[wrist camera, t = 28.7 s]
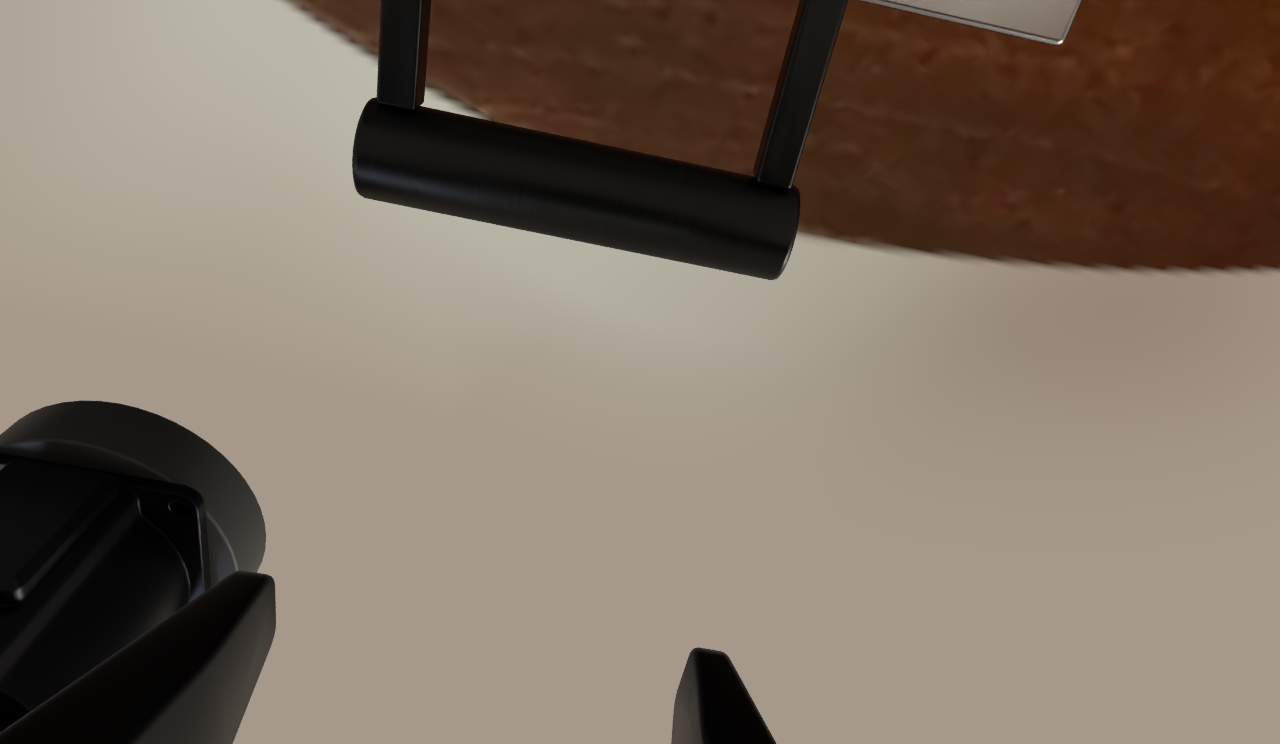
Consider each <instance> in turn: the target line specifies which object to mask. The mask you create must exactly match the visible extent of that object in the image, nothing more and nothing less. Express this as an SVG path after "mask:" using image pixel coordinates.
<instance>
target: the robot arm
mask: <svg viewBox="0 0 1280 744" xmlns="http://www.w3.org/2000/svg"><path fill="white" fill-rule="evenodd" d="M178 501H179V502H181V503H184V504H185V505H186V506H187V507H186V506H184V505H182V504H180V503H179V502H178ZM275 608H276V607H275V583H274V580H273V578H272V577H271V576H269V575H266V574H260V573H255V572H249V571H236V572H233V573H231V574H230V575H228V576H227V577H225V578H224V579H222V580H221V581H220V582H218V583H217V584H215V585H214V586H212V587H211V575H210V562H209V548H208V535H207V522H206V508H205V501H204V498H203V496H202V495H201V494H200V492H199V491H197V490H196V489H194V488H192V487H189V486H186V485H182V484H176V483H170V482H165V481H159V480H153V479H147V478H142V477H136V476H130V475H125V474H119V473H113V472H108V471H102V470H96V469H90V468H85V467H79V466H73V465H68V464H62V463H56V462H50V461H45V460H39V459H33V458H28V457H22V456H16V455H10V454H5V453H0V744H232V743H233V741H234V738H235V736H236V733H237V731H238V728H239V725H240V723H241V720H242V718H243V716H244V713H245V711H246V708H247V705H248V703H249V700H250V698H251V695H252V693H253V690H254V688H255V685H256V683H257V680H258V677H259V675H260V673H261V670H262V667H263V665H264V662H265V660H266V657H267V655H268V652H269V650H270V647H271V644H272V641H273V638H274V634H275V628H276V610H275ZM671 744H776V742H775V740H774V738H773V737H772V735H771V733H770V731H769V729H768V728H767V726H766V724H765V722H764V720H763V718H762V717H761V715H760V713H759V711H758V709H757V707H756V706H755V704H754V702H753V700H752V698H751V697H750V695H749V693H748V691H747V689H746V687H745V686H744V684H743V682H742V680H741V678H740V677H739V675H738V673H737V671H736V669H735V668H734V666H733V664H732V662H731V660H730V658H729V657H728V656H727V655H726V654H725V653H724V652H721V651H716V650H710V649H703V648H695V649H693V650H692V651H691V653H690V655H689V657H688V660H687V663H686V666H685V669H684V672H683V675H682V678H681V681H680V684H679V687H678V690H677V694H676V699H675V705H674V715H673V730H672V743H671Z"/></svg>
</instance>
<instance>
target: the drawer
mask: <svg viewBox="0 0 1280 744" xmlns="http://www.w3.org/2000/svg"><path fill="white" fill-rule="evenodd" d="M858 1H862V2H866V3H871V4H875V5H879V6H884V7H888V8H892V9H897V10H901V11H906V12H910V13H914V14H919V15H923V16H927V17H932V18H936V19H941V20H945V21H949V22H954V23H958V24H962V25H967V26H971V27H975V28H980V29H984V30H989V31H993V32H997V33H1002V34H1006V35H1010V36H1015V37H1019V38H1023V39H1028V40H1032V41H1037V42H1041V43H1045V44H1050V45H1054V46H1055V45H1060V44H1062V42H1063V41H1064V40H1065V37H1066V35H1067V33H1068V30H1069V28H1070V26H1071V23H1072V21H1073V19H1074V17H1075V14H1076V12H1077V10H1078V7H1079V5H1080V3H1081V0H858ZM847 2H848V0H800V2H799V5H798V9H797V13H796V16H795V20H794V23H793V27H792V31H791V34H790V38H789V42H788V45H787V49H786V52H785V56H784V60H783V63H782V67H781V71H780V74H779V78H778V81H777V85H776V89H775V92H774V96H773V100H772V103H771V107H770V110H769V114H768V118H767V121H766V125H765V129H764V132H763V136H762V139H761V143H760V147H759V150H758V154H757V158H756V161H755V165H754V169H753V172H754V176H755V177H754V176H749V175H744V174H739V173H735V172H730V171H725V170H721V169H716V168H711V167H706V166H702V165H697V164H692V163H687V162H683V161H678V160H673V159H668V158H664V157H659V156H654V155H650V154H645V153H640V152H635V151H631V150H626V149H621V148H616V147H612V146H607V145H602V144H597V143H593V142H588V141H583V140H579V139H574V138H569V137H564V136H560V135H555V134H550V133H545V132H541V131H536V130H531V129H526V128H522V127H517V126H512V125H508V124H503V123H498V122H493V121H489V120H484V119H479V118H474V117H470V116H465V115H460V114H455V113H451V112H446V111H441V110H437V109H432V108H427V107H422V106H420V105H421V104H422V103H423V102H424V93H425V79H426V65H427V51H428V37H429V23H430V9H431V0H381V14H380V37H379V60H378V83H377V84H378V85H377V98H372V99H370V100H369V101H368V102H367V104H366V105H365V107H364V109H363V111H362V114H361V116H360V119H359V122H358V126H357V129H356V134H355V139H354V146H353V159H352V161H353V162H352V167H353V178H354V183H355V188H356V190H357V192H358V193H359V194H360V195H361V196H363V197H364V198H368V199H373V200H378V201H383V202H388V203H393V204H398V205H403V206H408V207H412V208H418V209H423V210H427V211H432V212H437V213H442V214H447V215H452V216H457V217H462V218H467V219H472V220H477V221H482V222H486V223H492V224H496V225H501V226H506V227H511V228H516V229H521V230H526V231H531V232H536V233H541V234H546V235H551V236H556V237H561V238H565V239H570V240H575V241H580V242H585V243H590V244H595V245H600V246H605V247H610V248H615V249H620V250H625V251H630V252H635V253H640V254H645V255H649V256H655V257H660V258H664V259H669V260H674V261H680V262H684V263H689V264H694V265H699V266H704V267H709V268H714V269H719V270H724V271H728V272H733V273H738V274H744V275H749V276H753V277H758V278H763V279H768V280H774V279H777V278H778V277H779V276H780V275H781V273H782V272H783V270H784V268H785V266H786V264H787V262H788V260H789V257H790V254H791V251H792V248H793V245H794V241H795V237H796V233H797V228H798V222H799V215H800V193H799V190H798V188H797V187H795V186H794V185H792V184H793V181H794V178H795V174H796V171H797V168H798V164H799V161H800V158H801V154H802V151H803V148H804V144H805V141H806V138H807V135H808V131H809V128H810V125H811V121H812V118H813V115H814V111H815V108H816V105H817V101H818V98H819V95H820V92H821V88H822V85H823V82H824V78H825V75H826V72H827V68H828V65H829V62H830V58H831V55H832V52H833V49H834V45H835V42H836V39H837V35H838V32H839V29H840V25H841V22H842V19H843V15H844V12H845V9H846V6H847Z"/></svg>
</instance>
